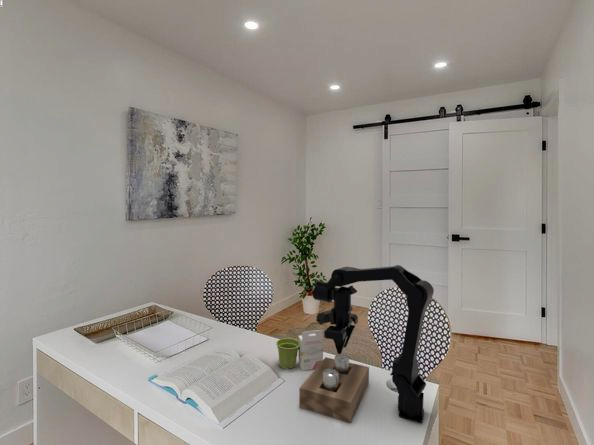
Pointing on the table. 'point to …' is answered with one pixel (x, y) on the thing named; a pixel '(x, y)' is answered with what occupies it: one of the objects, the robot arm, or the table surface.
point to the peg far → (342, 364)
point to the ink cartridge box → (310, 349)
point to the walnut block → (335, 402)
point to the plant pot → (287, 352)
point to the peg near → (330, 380)
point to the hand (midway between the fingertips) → (341, 350)
